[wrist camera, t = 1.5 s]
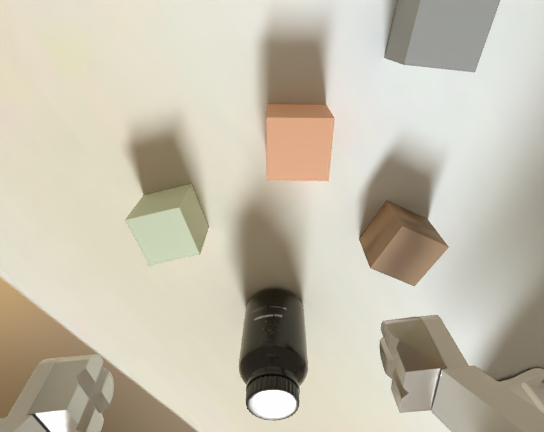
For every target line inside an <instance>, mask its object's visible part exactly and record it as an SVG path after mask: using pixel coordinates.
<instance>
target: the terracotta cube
mask: <svg viewBox="0 0 544 432" xmlns="http://www.w3.org/2000/svg"><path fill="white" fill-rule="evenodd" d="M333 128H334V117H333V115H332V113H331V112H330V110H329V109H328V107H327V105H326V104H268V106H267V117H266V180H293V181H329V171H330V160H331V149H332V139H333Z"/></svg>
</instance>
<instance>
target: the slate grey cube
mask: <svg viewBox="0 0 544 432" xmlns="http://www.w3.org/2000/svg"><path fill="white" fill-rule="evenodd" d="M499 2H500V0H398V1H397V5H396V10H395V14H394V18H393V23H392V27H391V31H390V36H389V40H388V44H387V49H386V53H385V57H384V58H386V59H389V60H392V61H395V62H398V63H400V64H403V65H411V66H421V67H430V68H440V69H449V70H458V71H468V72H475V71H476V68H477V65H478V62H479V59H480V56H481V53H482V51H483V48H484V45H485V42H486V39H487V36H488V34H489V31H490V28H491V25H492V22H493V19H494V17H495V14H496V11H497V8H498V5H499Z"/></svg>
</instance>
